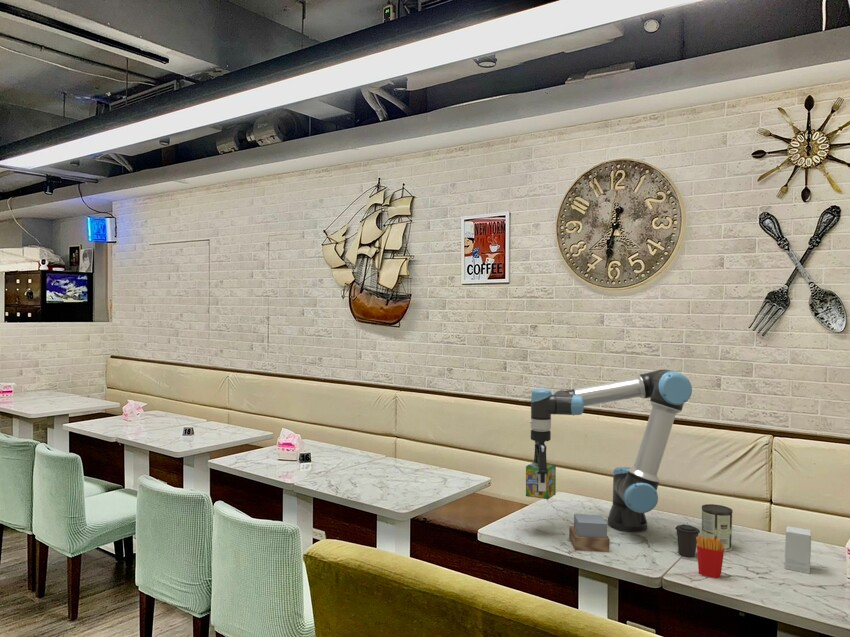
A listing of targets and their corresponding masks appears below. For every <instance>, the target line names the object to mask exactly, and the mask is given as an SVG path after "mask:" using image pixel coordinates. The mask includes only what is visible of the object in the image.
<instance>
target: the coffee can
mask: <svg viewBox="0 0 850 637" xmlns="http://www.w3.org/2000/svg"><path fill="white" fill-rule="evenodd" d="M732 530H733V509H732V508H731V507H728V506H724V505H720V504H713V503H711V504H710V503H709V504H708V503H707V504H706V503H705V504H702V505H701V532H700V533H701V534H700V537H701V536H702V537H703V538H704V539H707V537H709V538H712V539H715V541H716V539H719V540H720V543H722V542H724V547H723V549H724V553H726V552H730V551H731V550H732V548H733V547H732V540H733V539H732V533H733V531H732Z"/></svg>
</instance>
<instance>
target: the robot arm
mask: <svg viewBox="0 0 850 637" xmlns="http://www.w3.org/2000/svg"><path fill="white" fill-rule="evenodd" d="M692 394H693V387H692V383H691V381H690V379H689V378H688V377H687V376H686V375H684V374H682V373H681V372H678V371H674V370H670V369H658V370H654V371H651V372H646V373H641V374H637V375H636V377H633V378H628V379H622V380H618V381H617V380H615V381H613V382H606V383H600V384H594V385H588V386H582V387H578V388H573V389H566V390H564V389H559V390H556V391H555V392H554V393H552V390H551V389H549V388H534V389H533V390H532V391H531V396H530V398H531V399H530V420H528V421H529V422H528V423H529V424H530V428H531V430H530V440H531V441H533V442H534V455H533V456H534V457H533V463H534V462H536V463H537V457H538V462H539V472H537V474H538V491H546V474H547V464H548V463H547V445H546V444H545V442H549V441H551V436H552V433H551V429H552V415H557V416H558V415H559V416H561V415H564V416H573V417H575V416H581V415H582V414H583V413H584V407H588V406H594V405H600V404H605V403H612V402H616V401H622V400H623V401H624V400H629V399H634V398H641V399H642V400H643V399H644V400H645V399H650V400H649V402H650V405H651V406H652V407H651V410H650V413H649V417H648V420H647V423H646V426H645V429H644V433H643V436H642V439H641V442H640V444H639V449H638V451H637V455H636V458H635V461H634V465H633V466H632V467H625V466H624V467H623V466H622V467H621V466H619V467H615V468H614V469H613V474H612V477H613V478H612V479H613V480H612V504H611V507H610V511H609V512H608V513H609V514H608V516H607V526H609V527H610V528H613V529H614V530H619V531H622V532H631V533H638V532H645V531H647V530H648V520H647V517H646V514H645V513H649V512H652V510H653V509H655V508H656V506H657V504H658V502H659V495H658V492H657V490H658V487H659V484H660V479H659V476H658V472H659V469H660V465H661V463H662V459H663V457H664V453H665V451H666V447H667V443H668V440H669V438H670V434H671V431H672V428H673V425H674V421H675V419H676V415H677V414H679V413H681V412H682V410H683V407H684V404H685V403H686V402H688V401H689V400H690V398H691V396H692Z"/></svg>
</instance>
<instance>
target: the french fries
mask: <svg viewBox="0 0 850 637" xmlns="http://www.w3.org/2000/svg"><path fill="white" fill-rule="evenodd" d="M696 540H697V547H696V555H697V568H698V574H699V575H700V576H704V577H706V578H713V579H720V578H721V576H722V571H723V570H722V569H723V562H724V554H725V552H724V549H723V547H724V542H722V543H720V540H719V539H716V541H715V539H712V538H709V537H707V539H704V538H703V537H702V536H701V535H700V536H698V537H696Z"/></svg>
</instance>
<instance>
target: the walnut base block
mask: <svg viewBox="0 0 850 637" xmlns="http://www.w3.org/2000/svg"><path fill="white" fill-rule="evenodd" d="M568 529H569V531H568V532H569V534H568V539H569V541H570V543H571V546H572V547H573V550H574V551H582V552H583V551H584V552H599V553H600V552H603V553H610V544H611V543H610V537H609V535H607V538H594V537H578V535H577V533H576V531H575V529H574V525H569V528H568Z"/></svg>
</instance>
